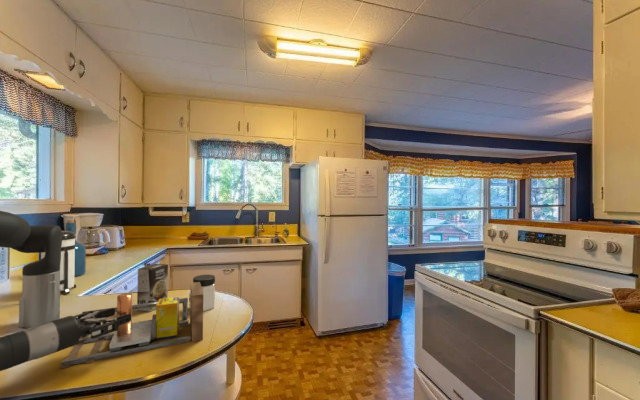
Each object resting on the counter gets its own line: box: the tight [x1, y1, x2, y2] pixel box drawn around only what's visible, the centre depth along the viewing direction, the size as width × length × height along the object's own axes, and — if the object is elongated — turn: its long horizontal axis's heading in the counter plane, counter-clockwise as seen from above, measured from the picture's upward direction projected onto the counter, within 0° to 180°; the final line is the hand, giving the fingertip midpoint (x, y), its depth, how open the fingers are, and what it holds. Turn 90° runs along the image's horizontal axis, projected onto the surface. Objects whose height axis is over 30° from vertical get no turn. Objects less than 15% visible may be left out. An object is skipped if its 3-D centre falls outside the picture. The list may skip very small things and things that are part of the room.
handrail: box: [81, 297, 189, 338], centre depth 95 cm, size 30×2×8 cm, turn 117°
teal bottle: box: [64, 219, 87, 278], centre depth 153 cm, size 14×13×30 cm
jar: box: [192, 274, 216, 312], centre depth 112 cm, size 9×8×12 cm
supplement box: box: [155, 296, 180, 342], centre depth 90 cm, size 6×6×11 cm
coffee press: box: [37, 225, 77, 296], centre depth 125 cm, size 17×16×30 cm
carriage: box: [109, 292, 156, 352], centre depth 85 cm, size 11×13×13 cm
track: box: [60, 319, 191, 369], centre depth 85 cm, size 30×15×1 cm, turn 117°
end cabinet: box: [188, 282, 204, 342], centre depth 92 cm, size 4×14×14 cm, turn 27°
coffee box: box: [136, 263, 169, 312], centre depth 112 cm, size 9×6×16 cm
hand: (122, 314), depth 83 cm, fingers open, 8 cm apart
